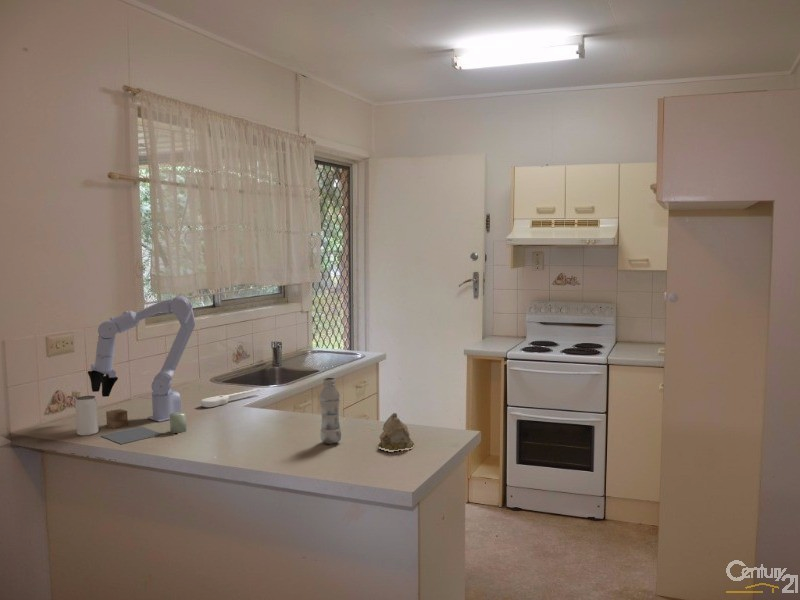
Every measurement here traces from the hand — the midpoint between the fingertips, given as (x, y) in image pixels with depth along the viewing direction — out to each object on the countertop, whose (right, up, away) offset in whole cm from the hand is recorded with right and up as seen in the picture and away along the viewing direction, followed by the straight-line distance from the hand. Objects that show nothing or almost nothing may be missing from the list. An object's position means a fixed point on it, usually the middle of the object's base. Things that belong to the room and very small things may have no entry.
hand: (100, 393), depth 238 cm
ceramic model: (+103, -12, -30) cm, 107 cm away
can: (+1, -12, -12) cm, 17 cm away
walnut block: (+7, -11, -2) cm, 13 cm away
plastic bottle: (+83, -12, -27) cm, 88 cm away
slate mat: (+17, -11, -15) cm, 25 cm away
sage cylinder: (+31, -11, -12) cm, 35 cm away
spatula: (+38, -7, +30) cm, 50 cm away
